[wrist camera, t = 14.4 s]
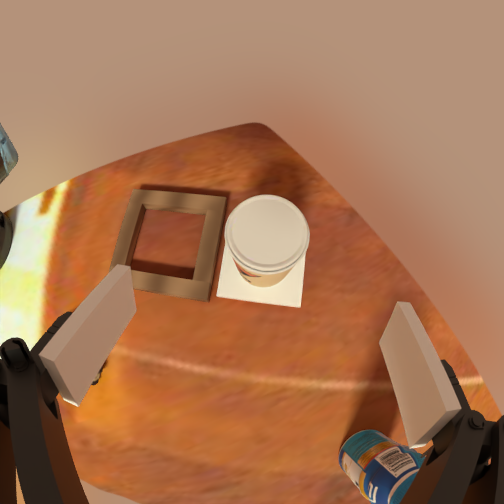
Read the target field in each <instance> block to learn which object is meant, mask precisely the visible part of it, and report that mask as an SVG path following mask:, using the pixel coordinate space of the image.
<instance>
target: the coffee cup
mask: <svg viewBox="0 0 504 504" xmlns="http://www.w3.org/2000/svg"><path fill="white" fill-rule="evenodd" d="M309 236H310V235H309V227H308V223H307V221H306V219H305V217H304V215H303V214H302V212H301V211H300V210H299V209H298V208H297V207H296V206H295V205H294V204H293V203H292V202H290V201H288V200H287V199H285V198H282V197H279V196H275V195H258V196H254V197H251V198H249V199H247V200H245V201H243V202H242V203H240V204H239V205H238V206H237V207H236V208H235V209H234V210H233V211H232V212H231V214H230V216H229V217H228V220H227V222H226V226H225V242H226V246H227V248H228V251H229V252H230V254H231V256H232V258H233V260H234V262H235V265H236V267H237V269H238V271H239V273H240V275H241V276H242V278H243V279H244V280H245V281H246V282H248V283H249V284H251V285H253V286H256V287H271V286H274V285H276V284H278V283H279V282H281V281H282V280H283V279H284V278H285V277H286V276H287V274H288V273H289V272H290V271H291V270H292V268H293V267H294V266H295V265H296V264H297V263H298V262H299V261H300V260H301V259H302V257H303V256H304V254H305V252H306V250H307V248H308V244H309Z"/></svg>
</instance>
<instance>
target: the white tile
mask: <svg viewBox="0 0 504 504" xmlns="http://www.w3.org/2000/svg"><path fill="white" fill-rule="evenodd" d="M305 253H306V252H305ZM304 265H305V254H304V256H303V257H302V259H301V260H300V261H299V262H298V263H297V264H296V265H295V266H294V267H293V268H292V270H291V271H290V272H289V273H288V274H287V276H286V277H285V278H284V279H283V280H282V281H281V282H279V283H278V284H276V285H274V286H271V287H256V286H253V285H251V284H249V283H248V282H246V281H245V280H244V279H243V278H242V276H241V275H240V273H239V271H238V269H237V267H236V265H235V262H234V260H233V258H232V256H231V254H230V252H229V251H228V248H227V246H226V243H225V249H224V255H223V260H222V266H221V272H220V278H219V284H218V290H217V297H223V298H230V299H237V300H244V301H251V302H258V303H266V304H274V305H282V306H290V307H299V308H300V307H301V297H302V287H303V276H304Z"/></svg>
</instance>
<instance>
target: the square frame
mask: <svg viewBox="0 0 504 504" xmlns="http://www.w3.org/2000/svg"><path fill="white" fill-rule="evenodd" d="M226 206H227V199H226V197H219V196H210V195H200V194H189V193H178V192H166V191H153V190H139V189H133V192H132V195H131V198H130V201H129V204H128V207H127V210H126V213H125V216H124V219H123V222H122V226H121V229H120V232H119V236H118V239H117V243H116V246H115V250H114V254H113V258H112V262H111V265H110V269H109V272H110V271H111V270H112V269H113V268H114V267H115V266H116V265H117V264H119V265H125V266H130V265H131V261H132V257H133V253H134V249H135V246H136V242H137V238H138V234H139V231H140V227H141V224H142V220H143V217H144V214H145V210H146V209H153V210H163V211H173V212H182V213H192V214H201V215H206V217H205V222H204V227H203V231H202V236H201V241H200V246H199V251H198V256H197V261H196V266H195V271H194V276H193V280H190V279H184V278H177V277H171V276H165V275H159V274H153V273H147V272H141V271H135V270H131V276H132V284H133V289H136V290H141V291H147V292H152V293H157V294H163V295H168V296H174V297H180V298H186V299H191V300H198V301H204V302H209V300H210V294H211V288H212V282H213V276H214V271H215V265H216V259H217V254H218V248H219V243H220V238H221V232H222V227H223V222H224V217H225V211H226Z"/></svg>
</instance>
